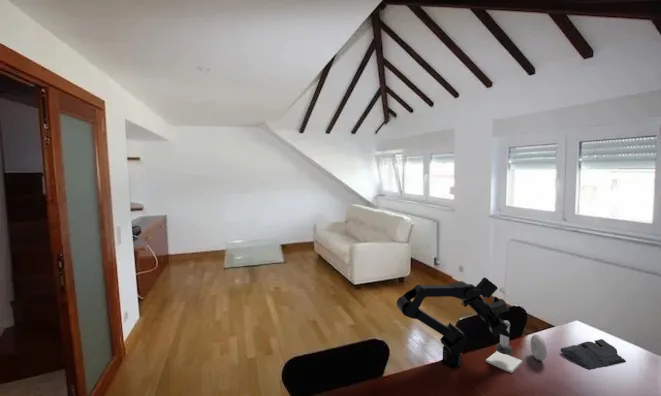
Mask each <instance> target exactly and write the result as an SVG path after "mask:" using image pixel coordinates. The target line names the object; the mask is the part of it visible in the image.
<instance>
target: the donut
mask: <svg viewBox="0 0 661 396" xmlns="http://www.w3.org/2000/svg"><path fill="white" fill-rule="evenodd" d="M529 343H530V351H531V354H532V355H533V357H534V359H536V361H544V360H546V358H547V355H548V352H547V345H546V341H545V339H544V338H543V337H542V336H541V335H540V334H533V335H532V336H531V337H530V342H529Z"/></svg>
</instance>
